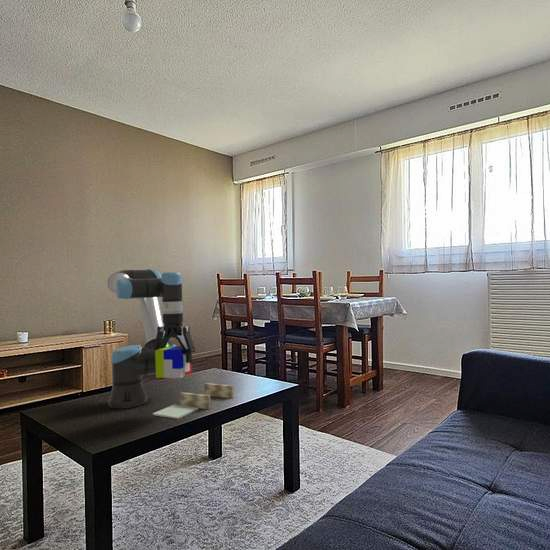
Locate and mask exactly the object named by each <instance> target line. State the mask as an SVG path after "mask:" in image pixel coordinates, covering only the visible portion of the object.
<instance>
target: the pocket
mask: <svg viewBox="0 0 550 550" xmlns="http://www.w3.org/2000/svg"><path fill="white" fill-rule="evenodd" d="M203 385H204V394H200V393H192V392H183V391H182V392H180V393H179V400H180V402H179V403H180V404H179V405H181V406H189V407H196V408H198V409H205V410H211V409H212V407H211V404H212V403H211V400H212V399H211V397H215V398H216V397H218V398H225V397H226V398H225V399H233V398H234V385H231V384H230V385H229V384H219V383H211V382H210V383H209V382H205V383H204V384H203Z"/></svg>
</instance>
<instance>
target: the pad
mask: <svg viewBox="0 0 550 550" xmlns="http://www.w3.org/2000/svg"><path fill="white" fill-rule="evenodd" d="M198 410H199V408H196V407H189V406H181V405H180V404H172V405H170V406H167V407H164V408H162V409H160V410H158V411H155V412H153V413H152V416H156V417H163V418H168V419H169V418H170V419H175V420H179V419H180V418H183V417H186V416H187V415H190V414H191V413H193V412H195V411H198Z"/></svg>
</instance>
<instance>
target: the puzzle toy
mask: <svg viewBox="0 0 550 550" xmlns="http://www.w3.org/2000/svg"><path fill="white" fill-rule="evenodd" d="M192 353H193V352H192ZM192 353H191V362H190V371H188V372H184V365H183V354H184V351H183V349H182V347H181V345H179V346H177V345H176V346H167V347H164V348H161V349H158V350H155V360H156V374H155V378H159V379H160V378H163V379H164V378H167V379H182V378H184V377H186V376H187V375H190V374H191V373H193V355H192Z"/></svg>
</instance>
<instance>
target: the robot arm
mask: <svg viewBox="0 0 550 550" xmlns="http://www.w3.org/2000/svg"><path fill="white" fill-rule="evenodd" d="M107 288H108V290H110V292H112V293H113V294H116V297H117V299H119V300H120V299H121V300H130V299H136V300H138V301H139V305H140V312H141V317H142V322H143V329H144V334H145V340H146V342H145V343H144V345H143V347H142V345H141V344H131V345H126V346H122V347H119V348H116V349H115V350H113V351H112V354H111V361H110V362H111V370H112V371H111V372H112V373H111V375H112V376H111V377H112V383H111V384H112V388H111V392H110V394H109V398H108V403H107V404H108V407H109V408H110V409H116V410H117V409H119V410H121V409H122V410H123V409H129V408H136V407H139V406H143V405H145V404H146V403H147V402H148V395H147V393H146V389H145V387H144V385H143V384H144V383H143V377H145V376H153V375H156V360H155V350H158V349H161V348H164V347H167V346H177V344H174V343H173V344H172V341H171V338H175V340H177V342H178V343H179V346H181V347H182V349H183V351H184V354H183V365H184V372H188V371H190V362H191V353H194V352H196V348H195V345H194V342H193V339H192V335H191V332H190V331H191V330H190V326H188V325H187V326H183V322H184V314H183V313H182V312H184V311H183V309H184V308H183V307H184V305H183V280H182V274H181V272H179V271H176V272H175V271H171V272H170V271H169V272H166V271H165V272H163V273H162V272H161V273H160V271H158V270H156V269H150V268H149V269H124V270H119V271H116V272H114V273H113V274H111V275H110V276H109V277H108V279H107ZM159 298H161V299H162V300H161V301H162V302H161V304H162V305H160V299H159ZM161 307H162V310H161ZM162 313H163V314H162Z"/></svg>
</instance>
